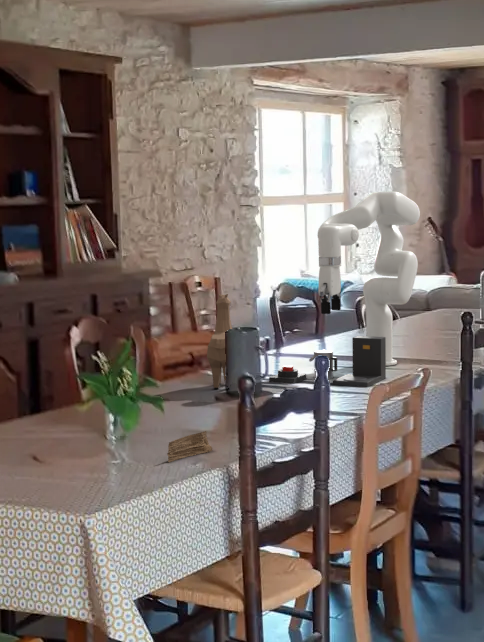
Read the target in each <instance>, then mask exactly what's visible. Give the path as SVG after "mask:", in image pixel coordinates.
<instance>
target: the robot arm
mask: <svg viewBox="0 0 484 642" xmlns="http://www.w3.org/2000/svg"><path fill="white" fill-rule="evenodd" d="M420 216H421V210H420V207H419V206H418V204H417V203H416V201H414V200H412V199H411V198H409V197H408V196H406V195H405V194H403V193H402V192H398V191H394V190H392V191H391V190H390V191H387V190H386V191H373V192H371V193H369V194H367V195H366V196H365V197H364V198H363V199H362V200H361V201H360V202H358V203H357V204H356V205H354V207H351V208H348V209H345V210H343V211H341V212H338V213H336V214H333V215H331V216H330V217H328V218H327V219H326V220H324V221H323V223H321V225H320V226H319V228H318V230H317V240H318V246H317V247H318V267H319V270H318V296H319V297H320V314H322V315H330V314H332V312H331V311H342V308H341V307H342V306H341V305H342V304H341V303H342V302H341V300H342V299H341V297H342V296H341V293H342V280H341V279H342V278H341V266H342V246H344V247H345V246H346V247H349V246H352V245H355V244H356V243H357V242H358V240H359V238H360V232H359V230H363V229H366V228H368V227H370V226H371V225H372V224H373V223H375V222H376V224H377V227H378V231H379V235H380V239H379V244H378V247H377V251H376V254H375V255H376V256H375V259H374V264H373V270H374V272H375V273H376V274H377V275H379V276H375V277H371V278H368V279H367V280H366V281H365V282H364V284H363V287H362V293H363V299H364V304H365V305H364V306H365V336H371V337H386V367H387V366H388V367H389V366H395V365H397V364H398V360H396V359H394V358H393V355H394V352H393V351H394V349H393V347H394V346H393V345H394V344H393V340H394V339H393V337H394V336H393V334H394V333H393V332H394V331H393V325H394V323H393V322H394V320H393V312H392V310H391V309H390V307H389V305H395V306H397V305H401V306H403V305H406V304H407V303H408V302H409V301H410V299H411V297H412V293H413V289H414V285H415V281H416V277H417V273H418V267H419V262H418V257H417V255H416V254H415V253H414V252H412V250H411V251H410V250H403V246H404V242H405V241H404V236H403V234H402V232H401V231H400V229H399V228H398V226H413V225H415V224H417V223H418V221H419V219H420Z"/></svg>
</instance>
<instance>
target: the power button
mask: <svg viewBox="0 0 484 642" xmlns="http://www.w3.org/2000/svg"><path fill="white" fill-rule="evenodd" d="M281 369H282V371H293V369H294V365H282V367H281Z"/></svg>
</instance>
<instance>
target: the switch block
mask: <svg viewBox="0 0 484 642" xmlns="http://www.w3.org/2000/svg"><path fill="white" fill-rule="evenodd" d="M305 380H307V373H300V372H299V370H298V369H296V368H293V371H282V368H281V369H278V370H277V374H274V375H271V376H269V377H268V381H269V383H273V384H274V383H277V384H289V385H290V384H293V385H295V384H296V383H300V382H302V381H305Z"/></svg>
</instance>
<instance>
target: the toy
mask: <svg viewBox="0 0 484 642" xmlns="http://www.w3.org/2000/svg"><path fill="white" fill-rule="evenodd" d="M217 295H218V299H217V300H216V302H215V304H216V309H217V310H216V311H217V312H216V321H215V322H216V323H215V328H214V332H213V333H214V334H212V335H211V337H210V341H208V345H207V350H206V358H207V361H208V363H209V365H210V368H211V375H212V383H213V390H216V391H217V390H219V389H220V386H221V384H222V375H223V381H224V382H225V380H226V376H225V362H226V354H225V332H226V331H227V330H229V329H233V325H232V321H231V320H232V319H231V313H230V308H231V307H230V306H231V302H232V301H231V300H230V298H229V293H225V294H221V293H218V294H217Z"/></svg>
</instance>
